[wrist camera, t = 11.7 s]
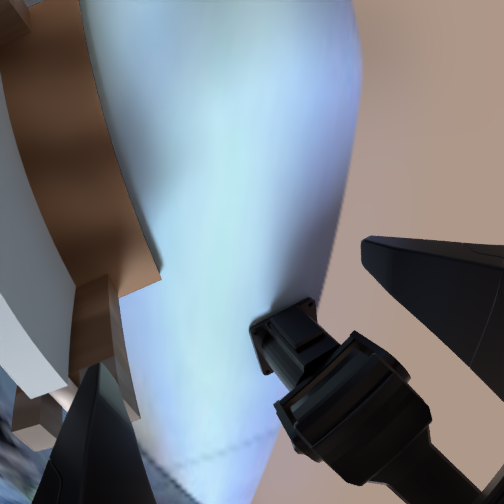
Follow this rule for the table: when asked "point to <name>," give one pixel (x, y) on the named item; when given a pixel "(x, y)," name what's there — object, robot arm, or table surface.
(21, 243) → the door
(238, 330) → the table surface
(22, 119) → the hinge frame
